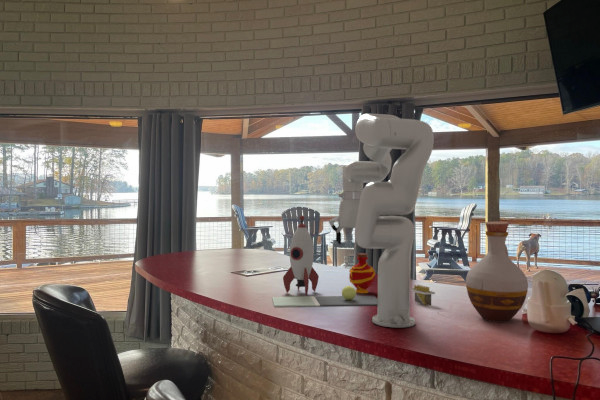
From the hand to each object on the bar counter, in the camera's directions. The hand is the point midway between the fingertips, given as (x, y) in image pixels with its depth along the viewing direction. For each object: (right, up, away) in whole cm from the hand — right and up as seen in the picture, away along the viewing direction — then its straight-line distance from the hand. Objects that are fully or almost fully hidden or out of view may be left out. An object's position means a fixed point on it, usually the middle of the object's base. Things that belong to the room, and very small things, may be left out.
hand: (352, 243), depth 177 cm
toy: (-19, -20, +10) cm, 29 cm away
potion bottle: (+5, -21, +13) cm, 25 cm away
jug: (+42, -21, -27) cm, 54 cm away
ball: (-2, -17, -5) cm, 18 cm away
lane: (-10, -20, -6) cm, 23 cm away
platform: (+24, -21, -7) cm, 32 cm away
